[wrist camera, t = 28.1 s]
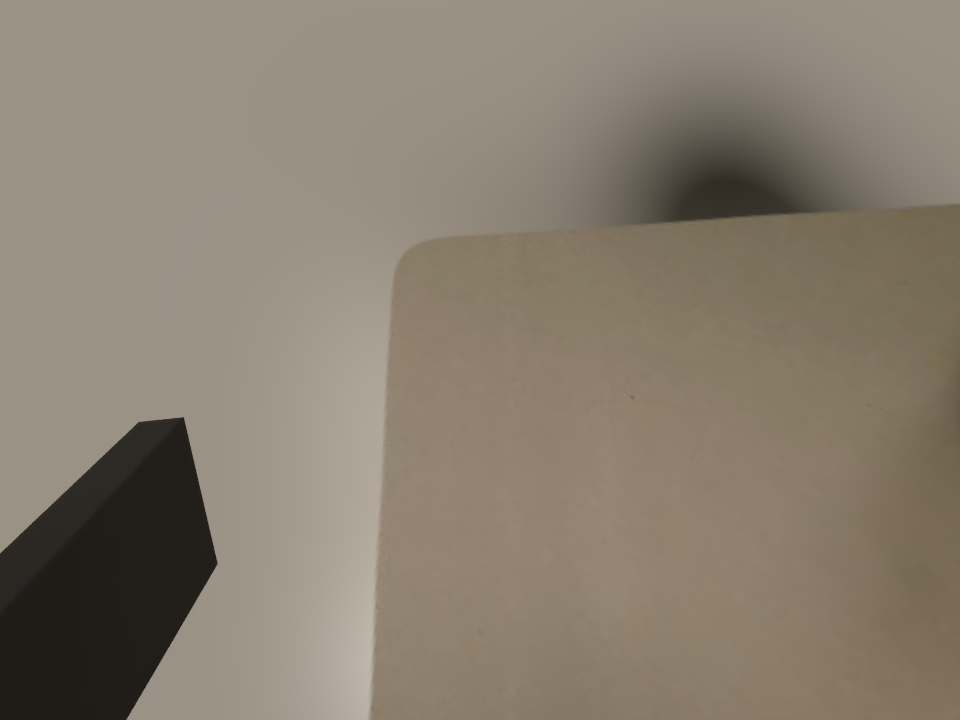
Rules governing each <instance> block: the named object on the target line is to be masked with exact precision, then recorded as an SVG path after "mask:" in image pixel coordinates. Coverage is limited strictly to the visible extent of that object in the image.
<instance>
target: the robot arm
mask: <svg viewBox="0 0 960 720" xmlns="http://www.w3.org/2000/svg"><path fill="white" fill-rule="evenodd" d="M216 566H217V559H216V555H215V551H214V546H213V542H212V538H211V533H210V529H209V525H208V521H207V516H206V512H205V508H204V503H203V499H202V495H201V490H200V486H199V481H198V477H197V473H196V469H195V464H194V460H193V455H192V451H191V447H190V443H189V438H188V434H187V429H186V425H185V421H184V417H183V418H173V419H164V420H154V421H145V422H139V423H137V424H136V425H135V426H134V427H133V428H132V429H131V430H130V431H129V432H128V433H127V434H126V435H125V436H124V437H123V438H122V439H121V440H120V441H118V442H117V443H116V444H115V445H114V446H113V447H112V448H111V449H110V450H109V451H108V452H107V453H106V454H105V455H104V456H103V457H102V458H101V459H100V460H98V461H97V462H96V463H95V464H94V465H93V466H92V467H91V468H90V469H89V470H88V471H87V472H86V473H85V474H84V475H83V476H82V477H81V478H79V479H78V480H77V481H76V482H75V483H74V484H73V485H72V486H71V487H70V488H69V489H68V490H67V491H66V492H65V493H64V494H63V495H61V496H60V497H59V498H58V499H57V500H56V502H54V503H53V504H52V505H51V506H50V507H49V508H48V509H47V510H46V511H45V512H44V513H43V514H41V515H40V516H39V517H38V518H37V519H36V520H35V521H34V522H33V523H32V524H31V525H30V526H29V527H28V528H27V529H26V530H25V531H24V532H23V533H21V534H20V535H19V536H18V537H17V538H16V539H15V540H14V541H13V542H12V543H11V544H10V545H9V546H8V547H7V548H6V549H4V551H2V552H1V553H0V720H126V719H127V717H128V716H129V714H130V713H131V711H132V709H133V707H134V706H135V704H136V702H137V700H138V698H139V697H140V696H141V694H142V692H143V690H144V689H145V687H146V685H147V683H148V682H149V680H150V678H151V677H152V675H153V673H154V672H155V670H156V668H157V666H158V665H159V663H160V661H161V659H162V658H163V656H164V655H165V653H166V651H167V649H168V648H169V646H170V644H171V643H172V641H173V639H174V637H175V636H176V634H177V632H178V631H179V629H180V627H181V626H182V624H183V622H184V620H185V619H186V617H187V615H188V614H189V612H190V610H191V608H192V607H193V605H194V603H195V601H196V600H197V598H198V596H199V595H200V593H201V591H202V590H203V588H204V586H205V585H206V583H207V581H208V579H209V578H210V576H211V574H212V573H213V571H214V569H215V567H216Z"/></svg>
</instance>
